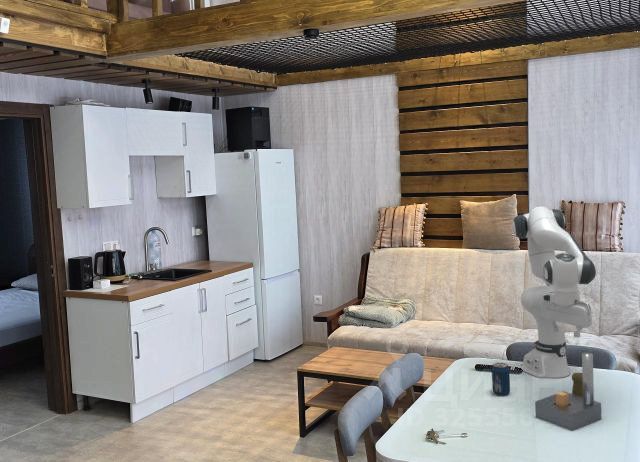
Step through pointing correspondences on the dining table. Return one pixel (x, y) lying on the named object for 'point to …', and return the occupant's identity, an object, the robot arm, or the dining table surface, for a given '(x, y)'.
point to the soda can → (500, 379)
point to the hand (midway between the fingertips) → (566, 334)
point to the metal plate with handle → (573, 403)
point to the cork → (577, 384)
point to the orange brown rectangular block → (562, 399)
